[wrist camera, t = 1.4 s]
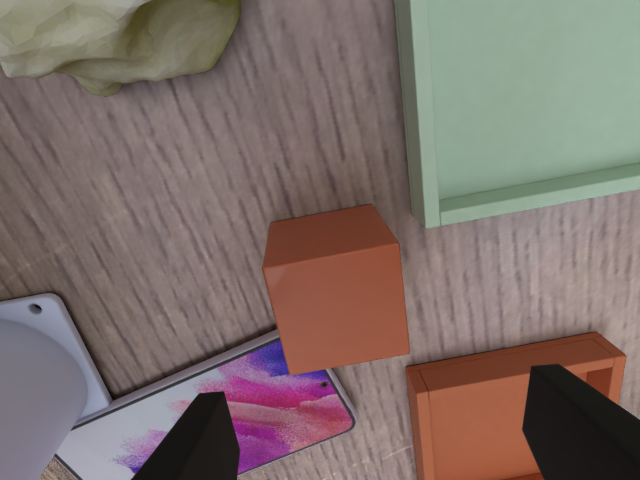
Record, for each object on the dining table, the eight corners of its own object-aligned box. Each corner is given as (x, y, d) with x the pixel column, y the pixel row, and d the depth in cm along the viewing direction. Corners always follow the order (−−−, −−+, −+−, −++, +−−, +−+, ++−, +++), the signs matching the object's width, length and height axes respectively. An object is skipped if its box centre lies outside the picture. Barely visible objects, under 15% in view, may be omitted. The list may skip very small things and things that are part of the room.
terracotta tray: (419, 494, 23) (429, 527, 22) (405, 366, 20) (416, 394, 18) (579, 465, 23) (602, 495, 22) (597, 331, 19) (627, 355, 18)
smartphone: (33, 441, 19) (303, 323, 17) (45, 427, 19) (303, 313, 18) (121, 525, 21) (363, 429, 20) (127, 509, 22) (361, 415, 20)
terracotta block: (290, 309, 18) (289, 376, 14) (269, 222, 16) (261, 268, 12) (383, 292, 18) (410, 354, 14) (372, 203, 16) (399, 242, 12)
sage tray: (411, 214, 16) (425, 229, 15) (381, -147, 12) (396, -188, 10) (685, 163, 16) (732, 172, 15) (761, -219, 12) (844, -274, 10)
